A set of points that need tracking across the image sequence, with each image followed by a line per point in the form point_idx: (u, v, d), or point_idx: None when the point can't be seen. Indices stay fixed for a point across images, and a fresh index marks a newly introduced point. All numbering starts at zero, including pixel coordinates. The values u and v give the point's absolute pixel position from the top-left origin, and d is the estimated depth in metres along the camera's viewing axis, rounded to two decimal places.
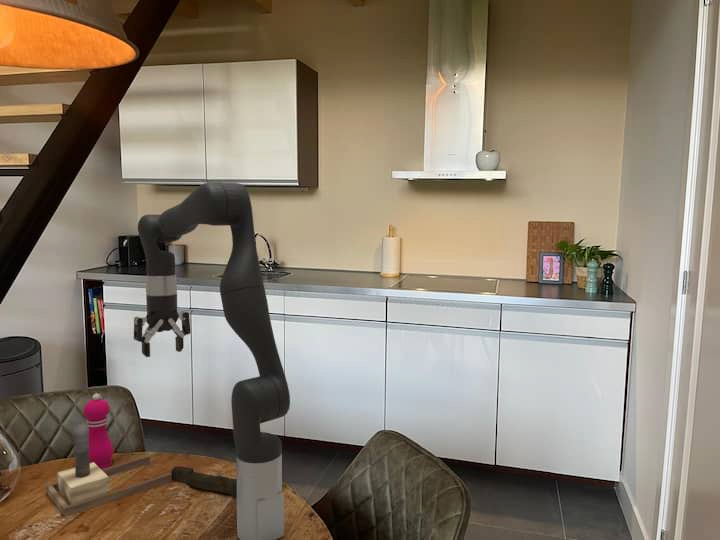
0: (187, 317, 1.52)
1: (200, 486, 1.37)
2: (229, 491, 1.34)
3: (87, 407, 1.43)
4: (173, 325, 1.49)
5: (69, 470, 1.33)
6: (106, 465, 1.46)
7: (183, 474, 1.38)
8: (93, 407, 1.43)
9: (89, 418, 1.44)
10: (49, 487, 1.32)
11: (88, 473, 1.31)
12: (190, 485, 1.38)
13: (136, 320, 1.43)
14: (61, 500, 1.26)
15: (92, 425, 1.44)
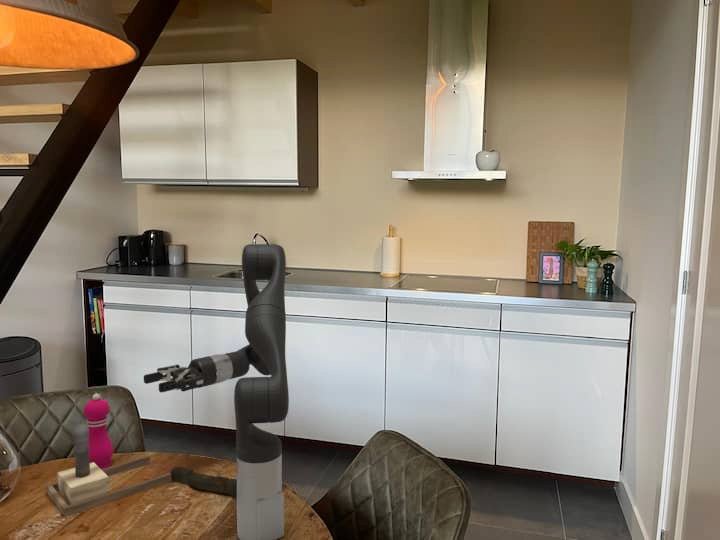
0: (197, 377, 1.42)
1: (200, 487, 1.37)
2: (229, 491, 1.34)
3: (87, 407, 1.43)
4: (184, 372, 1.44)
5: (69, 470, 1.33)
6: (106, 465, 1.46)
7: (183, 475, 1.38)
8: (93, 407, 1.43)
9: (89, 418, 1.44)
10: (49, 487, 1.32)
11: (88, 473, 1.31)
12: (190, 486, 1.38)
13: None
14: (61, 500, 1.26)
15: (92, 425, 1.44)
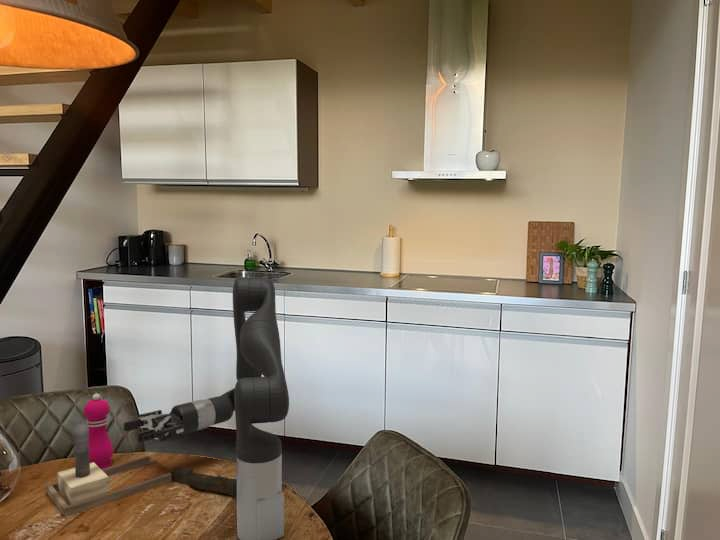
0: (177, 426, 1.40)
1: (200, 486, 1.37)
2: (229, 491, 1.34)
3: (87, 407, 1.43)
4: (164, 420, 1.41)
5: (69, 470, 1.33)
6: (106, 465, 1.46)
7: (183, 475, 1.38)
8: (93, 407, 1.43)
9: (89, 418, 1.44)
10: (49, 487, 1.32)
11: (88, 473, 1.31)
12: (189, 486, 1.38)
13: None
14: (61, 500, 1.26)
15: (92, 425, 1.44)
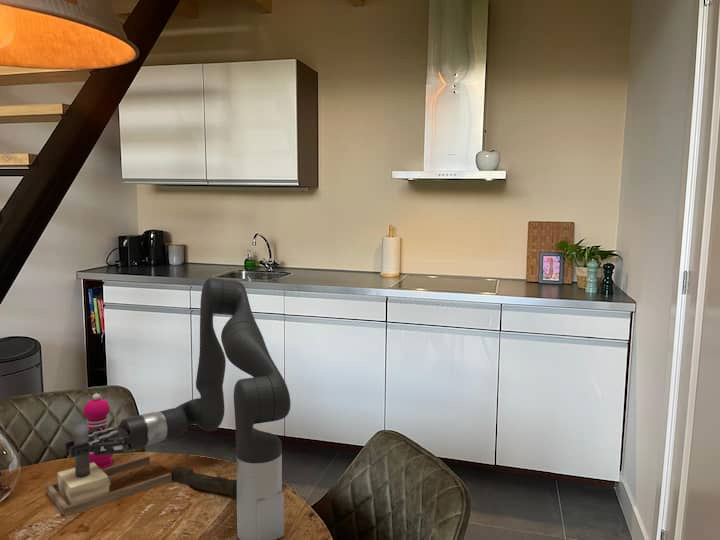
0: (116, 442, 1.30)
1: (199, 487, 1.36)
2: (228, 492, 1.34)
3: (87, 407, 1.43)
4: (107, 434, 1.33)
5: (69, 470, 1.33)
6: (106, 465, 1.46)
7: (183, 475, 1.38)
8: (93, 407, 1.43)
9: (89, 418, 1.44)
10: (49, 487, 1.32)
11: (88, 473, 1.31)
12: (189, 486, 1.37)
13: None
14: (61, 500, 1.26)
15: (92, 425, 1.44)
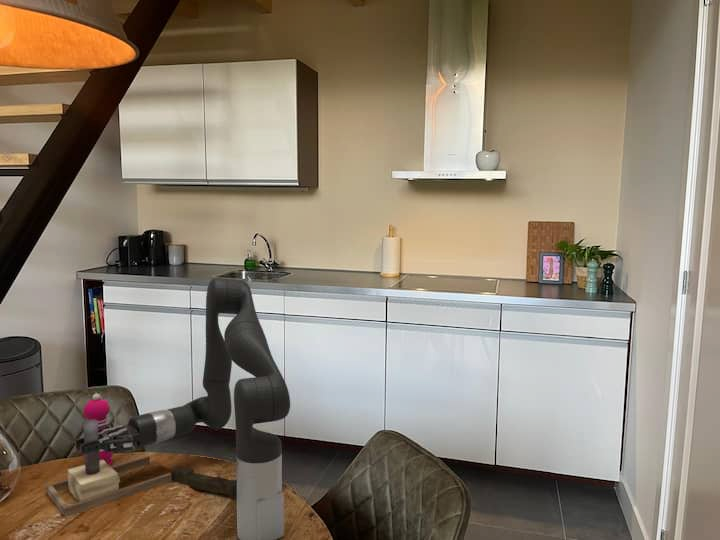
0: (125, 439, 1.32)
1: (199, 487, 1.36)
2: (228, 492, 1.34)
3: (87, 407, 1.43)
4: (117, 432, 1.34)
5: (79, 467, 1.35)
6: None
7: (183, 475, 1.37)
8: (93, 407, 1.43)
9: (89, 418, 1.44)
10: (49, 487, 1.32)
11: (98, 470, 1.32)
12: (189, 486, 1.37)
13: None
14: (61, 500, 1.26)
15: None
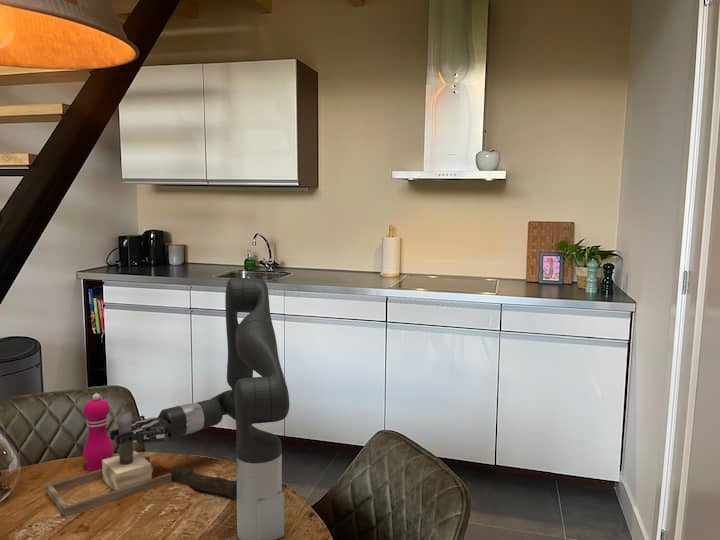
0: (158, 430, 1.37)
1: (199, 487, 1.36)
2: (227, 493, 1.33)
3: (87, 407, 1.43)
4: (149, 424, 1.40)
5: (113, 458, 1.40)
6: None
7: (182, 475, 1.37)
8: (93, 407, 1.43)
9: (89, 418, 1.44)
10: (49, 487, 1.32)
11: (131, 460, 1.38)
12: (189, 486, 1.37)
13: None
14: (61, 500, 1.26)
15: (92, 425, 1.44)
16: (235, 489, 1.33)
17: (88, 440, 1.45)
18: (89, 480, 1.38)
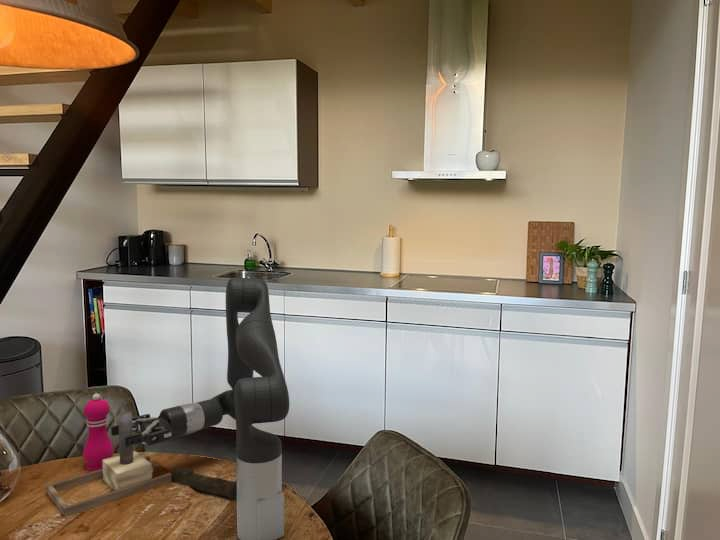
0: (165, 430, 1.37)
1: (199, 488, 1.36)
2: (227, 494, 1.33)
3: (87, 407, 1.43)
4: (152, 424, 1.39)
5: (113, 458, 1.40)
6: None
7: (182, 475, 1.37)
8: (93, 407, 1.43)
9: (89, 418, 1.44)
10: (49, 487, 1.32)
11: (132, 460, 1.38)
12: None
13: None
14: (61, 500, 1.26)
15: (92, 425, 1.44)
16: (235, 490, 1.33)
17: (88, 440, 1.45)
18: (89, 480, 1.38)
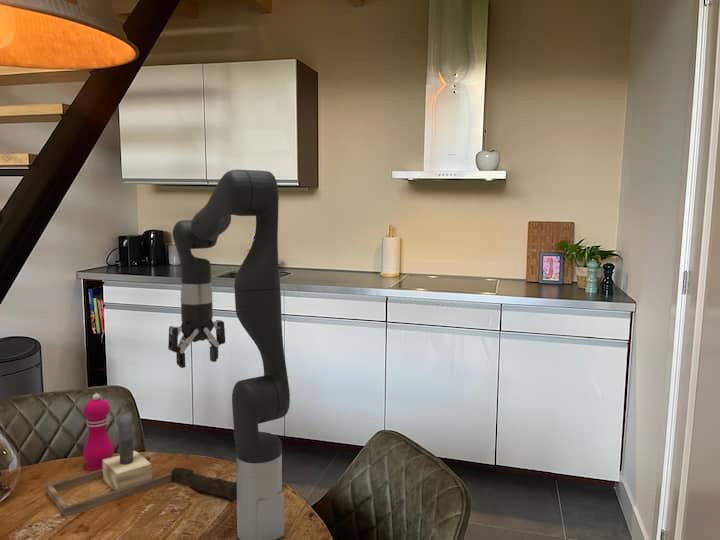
0: (222, 326, 1.47)
1: (198, 488, 1.36)
2: (226, 494, 1.33)
3: (87, 407, 1.43)
4: (208, 334, 1.44)
5: (113, 458, 1.40)
6: None
7: (182, 476, 1.37)
8: (93, 407, 1.43)
9: (89, 418, 1.44)
10: (49, 487, 1.32)
11: (132, 460, 1.38)
12: None
13: (171, 330, 1.38)
14: (61, 500, 1.26)
15: (92, 425, 1.44)
16: (234, 490, 1.33)
17: (88, 440, 1.45)
18: (89, 480, 1.38)
